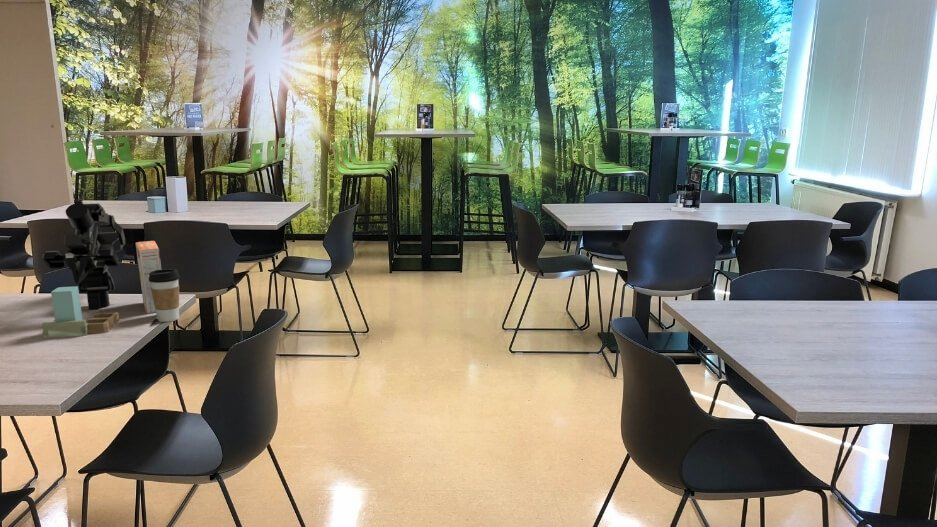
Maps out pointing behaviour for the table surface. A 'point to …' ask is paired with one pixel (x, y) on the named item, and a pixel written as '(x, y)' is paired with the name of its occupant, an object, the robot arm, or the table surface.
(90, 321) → the trap channel
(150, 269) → the cracker box
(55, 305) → the block
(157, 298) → the coffee cup
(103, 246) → the robot arm
